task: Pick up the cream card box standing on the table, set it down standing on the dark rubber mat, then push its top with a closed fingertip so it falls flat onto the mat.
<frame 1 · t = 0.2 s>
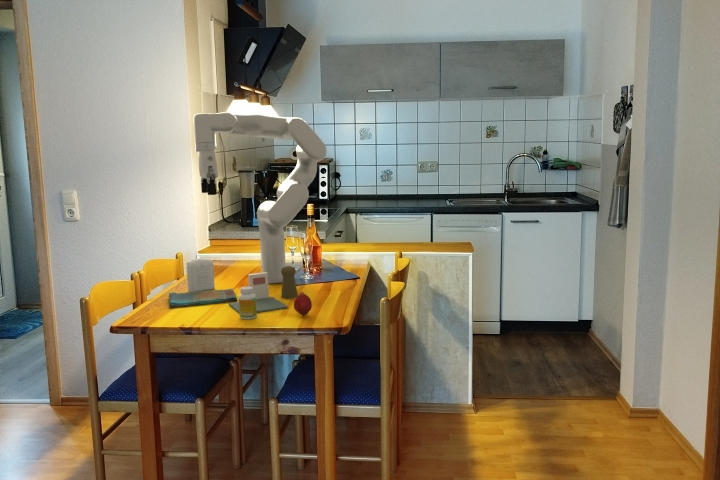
hand: (209, 193, 252), 36 cm above the table, tool pointing down, fingers open, 9 cm apart
card box: (259, 298, 242), on the table
photo printer: (201, 290, 257), on the table
dish towel: (202, 301, 243), on the table
pepper shaker: (289, 297, 242), on the table
onion: (303, 316, 217), on the table
supplement bottle: (248, 317, 218), on the table
mat: (258, 306, 230), on the table
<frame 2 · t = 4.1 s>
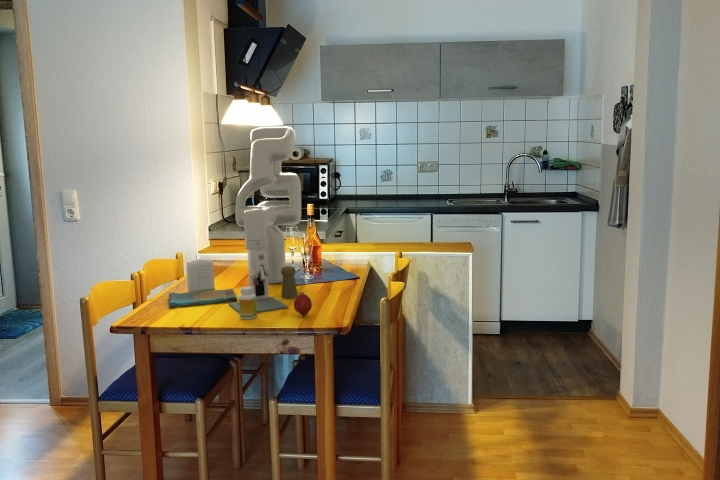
hand: (259, 294, 241), 1 cm above the table, tool pointing down, fingers closed on card box, 2 cm apart
card box: (259, 298, 242), on the table, touching gripper
everything else where it was.
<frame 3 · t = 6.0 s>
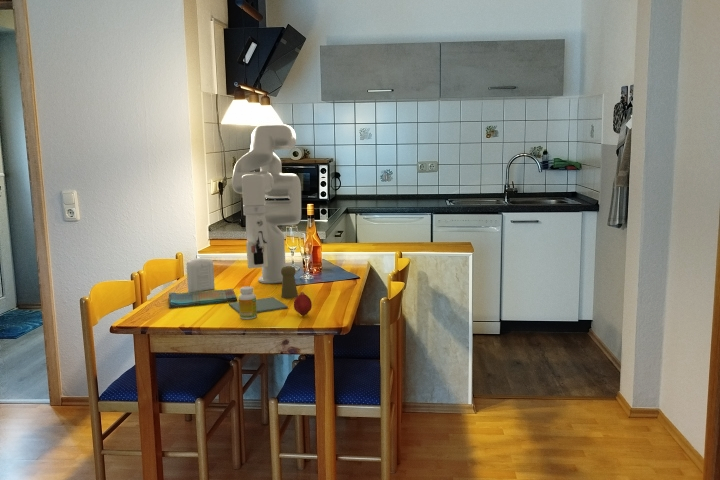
hand: (257, 263, 232), 14 cm above the table, tool pointing down, fingers closed on card box
card box: (257, 267, 232), point 13 cm above the table, touching gripper
everything else where it was.
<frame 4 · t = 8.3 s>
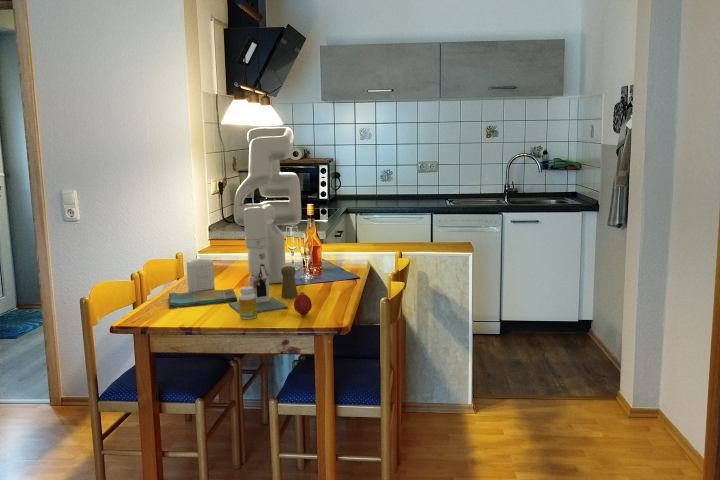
hand: (259, 294, 234), 3 cm above the table, tool pointing down, fingers open, 4 cm apart
card box: (259, 301, 235), point 1 cm above the table, touching mat
everything else where it was.
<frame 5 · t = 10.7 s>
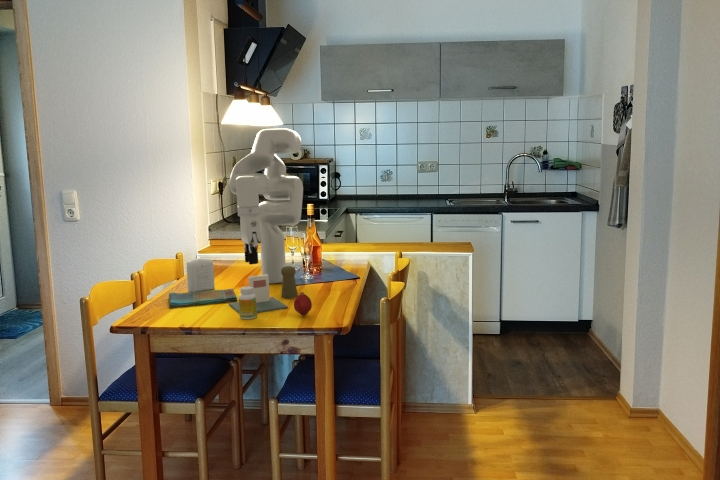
hand: (251, 262, 239), 13 cm above the table, tool pointing down, fingers open, 3 cm apart
nothing on the table moved.
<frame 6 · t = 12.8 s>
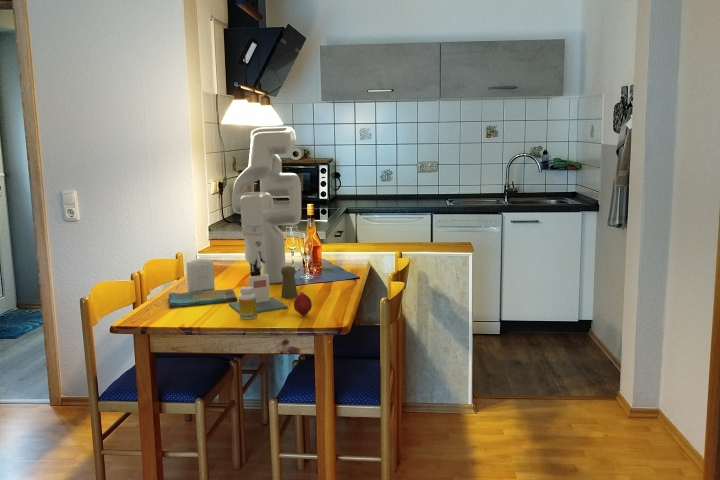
hand: (256, 282, 236), 7 cm above the table, tool pointing down, fingers closed
card box: (259, 301, 235), point 1 cm above the table, touching gripper, mat
everything else where it was.
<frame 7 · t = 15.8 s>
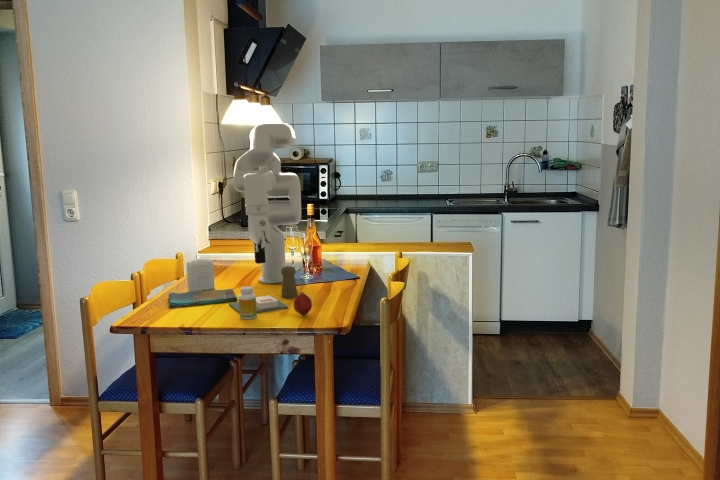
hand: (260, 262, 231), 15 cm above the table, tool pointing down, fingers closed
card box: (260, 299, 233), point 2 cm above the table, tilted 89°, touching mat
everything else where it was.
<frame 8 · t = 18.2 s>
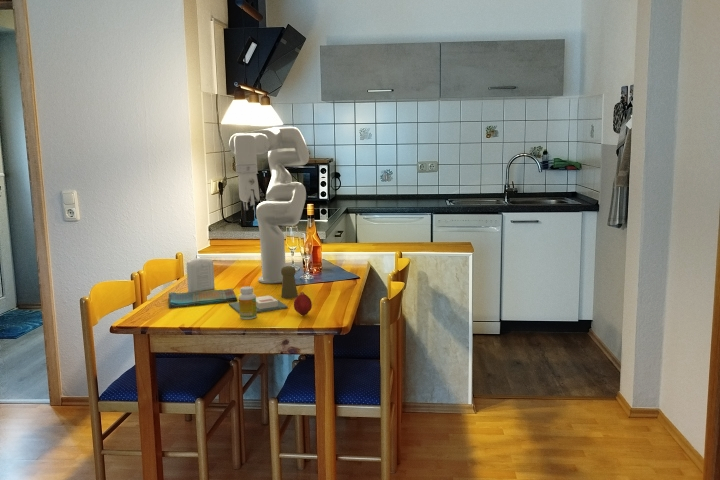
hand: (249, 221, 242), 27 cm above the table, tool pointing down, fingers closed
nothing on the table moved.
at the end: card box tilted 89°; card box inside the target area on the mat (3.5 cm from its centre), point 1.6 cm above the mat's base; the gripper is holding nothing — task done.
